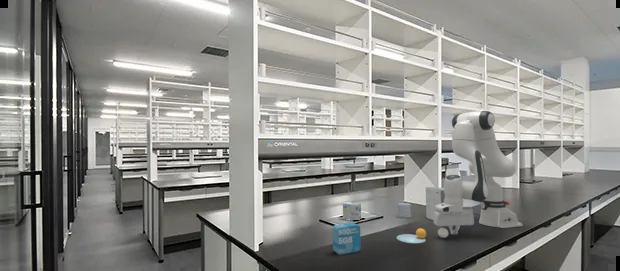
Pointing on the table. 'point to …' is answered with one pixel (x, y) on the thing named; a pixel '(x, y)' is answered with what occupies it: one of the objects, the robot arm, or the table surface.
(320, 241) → the table surface
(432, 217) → the hard drive box
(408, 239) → the blue mark
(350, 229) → the data package
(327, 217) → the table surface
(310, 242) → the table surface
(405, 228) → the table surface
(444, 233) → the white ball
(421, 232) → the orange ball
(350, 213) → the light bulb box
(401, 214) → the medicine box
